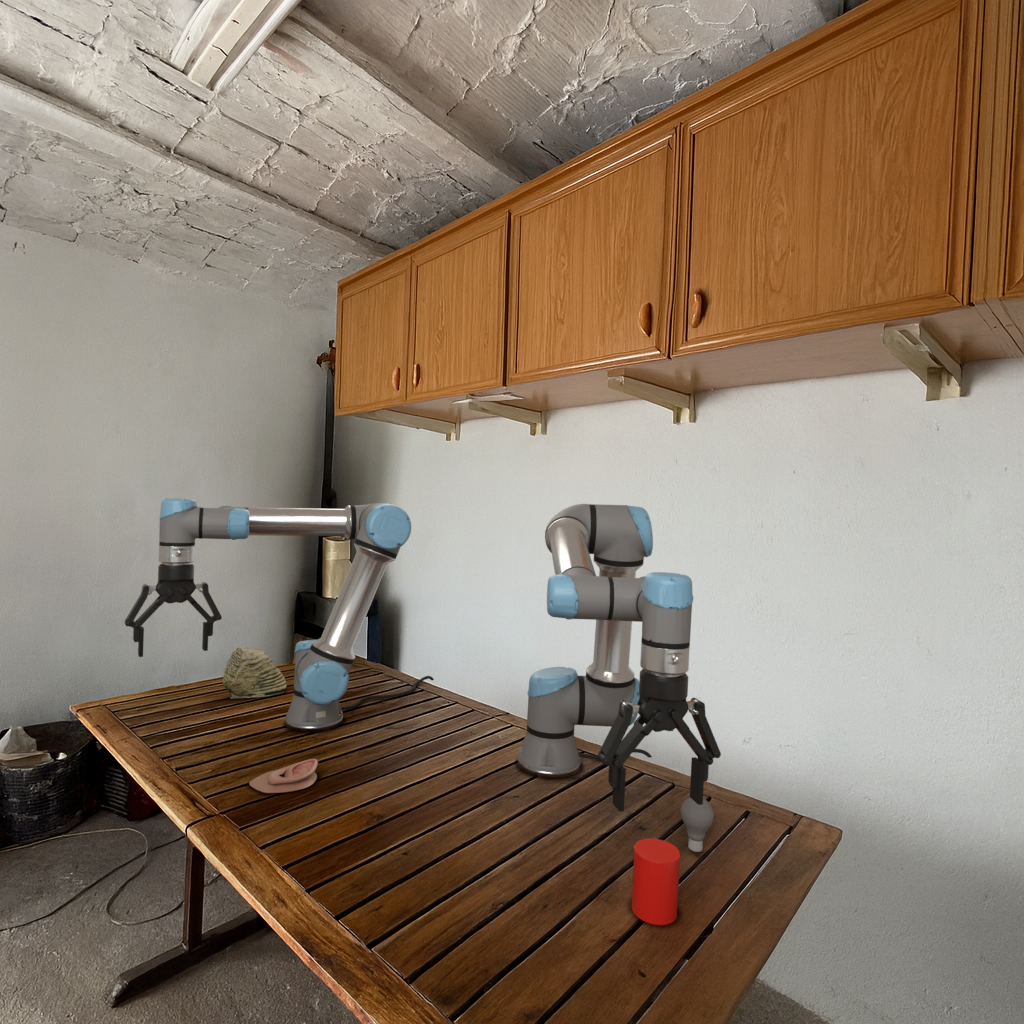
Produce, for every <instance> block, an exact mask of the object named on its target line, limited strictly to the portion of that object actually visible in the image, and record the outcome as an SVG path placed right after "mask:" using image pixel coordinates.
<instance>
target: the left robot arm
mask: <svg viewBox="0 0 1024 1024" xmlns="http://www.w3.org/2000/svg"><path fill="white" fill-rule="evenodd" d="M411 533H412V522H411V518H410V516H409V514H408V513H407V512H406V510H404V509H403V508H402V507H401V506H398V505H397V504H393V503H391V502H374V503H367V504H359V505H358V504H357V505H350V504H349V505H348V504H347V506H345V507H344V508H315V507H311V508H310V507H304V508H303V507H263V506H261V507H259V506H258V507H257V506H255V507H253V506H246V507H244V506H230V505H223V506H219V507H201V506H198V505H197V500H196V499H194V498H179V497H178V498H177V497H175V498H174V497H167V498H164V499H163V500H162V501H161V503H160V514H159V534H158V535H159V536H158V538H159V541H158V562H159V563H160V564H159V565H158V566H157V567H158V568H157V583H156V585H149V584H146V583H144V584H142V586H141V591H140V594H139V596H138V598H137V600H135V603H134V605H133V606H132V608H131V609H130V611H129V613H128V615H127V616H126V617H125V619H124V622H123V623H124V624H125V626H126V627H130V628H132V629H133V630H132V640H133V642H134V643H138V646H137V655H138V657H139V658H144V639H145V638H144V636H145V628H144V626H143V625H144V624H145V622H147V620H149V619H150V617H151V616H152V615H153V614H154V613H155V612H156V611H157V610H158V609H159V608H160V607H161V606H163V604H164V603H166V604H176V603H178V604H183V603H185V602H188V603H189V604H190V605H191V606H192V607H193V608H194V609H195V610H196V611H197V612H198V613H199V614H200V615H201V616H202V617H203V619H204V620H205V621H204V622H202V643H201V645H202V646H201V647H202V648H201V649H202V650H203V652H208V651H209V637H213V635H214V623H215V622H218V621H221V620H222V614H221V612H220V610H219V609H218V606H217V605H216V603H215V601H214V599H213V598H212V595H211V593H210V591H209V584H208V583H207V582H205V581H202V582H201V583H195V565H194V564H193V563H194V562H195V553H196V552H195V551H196V550H195V549H196V539H199V540H202V539H209V540H211V539H212V540H232V541H235V540H246V539H248V538H249V536H271V537H272V536H273V537H275V536H276V537H278V536H281V537H282V536H283V537H284V536H286V537H290V536H294V537H300V536H301V537H302V536H303V537H344V538H345V539H346V540H348V541H349V540H354V542H353V546H354V548H355V550H356V553H355V555H354V558H353V561H352V562H351V565H350V567H349V569H348V572H347V574H346V577H345V580H344V581H343V584H342V586H341V589H340V591H339V594H338V595H337V599H336V601H335V603H334V605H333V608H332V610H331V612H330V615H329V617H328V620H327V622H326V624H325V627H324V629H323V632H322V634H321V637H319V638H318V639H307V640H301V641H298V642H297V643H295V648H294V649H295V650H294V672H293V673H294V674H293V675H294V679H293V695H292V696H293V697H292V699H291V702H290V704H289V708H288V711H287V713H286V715H285V726H286V728H287V729H289V730H291V731H294V732H295V731H296V732H301V733H316V732H325V731H329V730H332V729H335V728H337V727H339V726H340V725H342V723H343V722H344V714H343V711H345V710H351V709H355V708H356V707H358V706H359V705H361V704H362V703H363V702H366V701H369V700H375V699H376V700H377V699H390V698H395V697H402V696H405V695H408V694H411V693H412V692H414V691H415V690H416V687H417V686H418V685H419V684H420V683H422V682H424V681H425V680H428V679H429V680H430V681H435V679H434V678H433V676H431V675H425V676H422V678H420V679H418V680H417V681H415V682H414V683H413V685H412V688H411V689H408V690H405V691H401V692H397V693H390V694H389V693H388V694H377V695H369V696H365V697H362V698H360V699H359V700H358V701H357V702H355V703H354V704H350V705H343V706H341V702H340V699H342V698H343V696H344V695H345V694H346V692H347V690H348V687H349V685H350V683H349V682H350V676H349V674H350V672H351V669H352V667H353V665H354V663H355V662H354V661H355V659H356V655H355V653H354V646H355V643H356V642H357V639H358V636H359V634H360V632H361V629H362V626H363V625H364V622H365V619H366V617H367V614H368V612H369V610H370V607H371V605H372V602H373V600H374V597H375V595H376V593H377V590H378V588H379V586H380V583H381V581H382V578H383V577H384V573H385V571H386V569H387V566H388V565H389V564H390V563H393V562H394V561H396V559H397V557H398V555H399V553H400V550H401V547H402V546H404V545H405V544H406V543H407V542H408V540H409V538H410V536H411ZM196 590H198V592H199V593H201V594H202V596H203V598H204V600H205V602H206V604H207V605H208V607H209V609H210V611H211V613H212V615H210V614H209V613H208V612H207V611H206V610H205V609H204V608H203V607H202V606H201V604H200V603H198V601H197V600H196V599H195V598H194V597H193V596H192V594H193V593H194V592H195V591H196ZM154 591H155V592H156V593H157V595H158V596H157V597H156V598H155V600H154V601H153V602H152V603H151V604H150V605H149V606H148V608H146V610H144V612H142V614H140V616H139V617H138V618H137V619H136V617H137V615H139V612H140V611H141V609H142V607H143V606H144V604H145V602H146V601H147V599H148V596H149V595H152V594H153V592H154ZM135 619H136V620H135Z"/></svg>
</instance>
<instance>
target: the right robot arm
mask: <svg viewBox="0 0 1024 1024" xmlns="http://www.w3.org/2000/svg"><path fill="white" fill-rule="evenodd" d="M653 535H654V534H653V527H652V521H651V517H650V515H649V513H648V511H647V510H646V509H645V508H644V507H642V506H636V505H627V504H593V503H578V504H573V505H570V506H568V507H565V508H563V509H562V510H560V511H558V512H557V513H556V514H554V516H552V518H551V519H550V520H549V522H548V523H547V525H546V527H545V531H544V540H545V541H544V543H545V545H546V548H547V550H548V551H549V552H550V554H551V556H552V562H553V563H552V564H553V570H554V574H552V575H551V576H549V578H548V579H547V586H546V587H547V588H546V611H547V614H548V615H549V616H550V617H552V618H557V619H558V618H559V619H565V620H594V621H595V629H594V645H593V646H594V647H593V658H592V659H593V661H592V662H591V663H590V664H589V665H587V667H586V669H585V670H586V671H585V675H578V672H577V670H576V669H575V668H573V667H566V666H551V667H546V668H542V669H539V670H536V671H535V672H533V673H532V674H531V675H530V677H529V680H528V690H527V696H528V697H527V698H528V700H527V715H526V717H527V718H526V733H525V735H524V738H523V740H522V743H521V748H520V749H519V751H518V755H517V766H518V767H519V769H521V770H522V771H523V772H525V773H526V774H528V775H532V776H533V777H538V778H544V779H564V778H569V777H572V776H574V775H576V774H578V773H579V771H580V770H581V758H583V759H589V760H590V759H591V760H597V761H600V762H601V763H603V765H605V766H608V781H607V782H608V785H609V786H610V787H611V788H612V800H611V801H612V805H613V806H614V807H615V808H616V810H618V812H624V811H625V793H626V773H627V769H626V768H625V767H624V766H623V765H624V763H625V762H626V761H627V760H628V759H629V757H630V756H631V755H632V754H634V753H637V754H643V755H644V756H645V757H647V758H653V756H652V754H650V752H648V751H646V750H644V749H642V748H638V746H639V745H640V743H641V742H642V741H643V740H644V739H645V737H647V736H649V735H650V734H651V733H652V732H654V733H660V732H663V731H666V732H674V730H675V729H676V730H677V732H678V733H679V735H680V736H681V737H682V738H683V739H684V741H685V743H686V744H687V745H688V746H689V748H690V749H691V750H692V751H693V753H694V754H695V757H691V761H690V763H691V764H690V781H689V782H690V783H689V784H690V785H689V797H690V798H691V799H693V800H694V801H695V802H696V803H697V804H698V805H703V798H704V786H705V782H708V780H709V769H710V766H712V765H713V764H714V759H719V758H720V757H721V755H722V753H721V750H720V748H719V745H718V742H717V741H716V738H715V736H714V735H715V734H714V733H713V731H712V728H711V726H710V723H709V721H708V719H707V716H706V704H705V702H703V701H702V700H699V698H696V697H692V698H691V699H690V700H688V701H687V698H688V696H689V695H688V694H689V693H688V692H689V690H688V689H689V675H688V673H687V672H689V669H690V668H689V667H690V651H691V650H690V649H691V646H690V645H691V631H692V629H691V628H692V613H693V603H694V594H693V580H692V578H691V577H690V576H688V575H687V574H681V573H677V572H664V571H663V572H661V571H654V572H650V573H647V574H646V575H645V576H640V577H637V571H639V569H641V568H642V567H643V566H644V560H645V558H648V557H650V556H652V554H653V549H654V536H653ZM591 555H593V560H592V558H591ZM593 562H594V563H595V565H596V566H598V570H599V571H598V575H597V574H596V570H595V567H594V565H593ZM633 622H639V623H641V639H640V641H641V642H640V659H639V660H640V661H639V666H640V668H641V670H640V671H639V679H638V678H636V677H635V675H636V673H635V671H634V670H633V669H632V668H631V667H630V656H631V644H632V643H631V642H632V630H633ZM688 712H689V713H690V714H691V716H692V719H693V721H694V724H695V726H696V729H697V731H698V734H699V736H700V738H701V741H702V744H703V745H702V744H701V743H700V741H699V739H697V737H696V736H695V735H694V733H693V732H692V730H691V729H690V727H689V725H688V724H687V723H686V721H685V720H684V717H685V716H686V715H687V713H688ZM631 725H632V727H631V728H630V730H629V731H628V732H627V730H628V729H629V727H630V726H631ZM575 726H588V727H589V726H592V727H608V728H609V727H610V729H609V731H608V733H607V735H606V737H605V739H604V741H603V743H602V745H601V746H600V749H599V751H598V753H597V755H595V754H589V753H582V752H578V746H577V742H576V741H577V740H576V738H575ZM696 756H697V757H696Z"/></svg>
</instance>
